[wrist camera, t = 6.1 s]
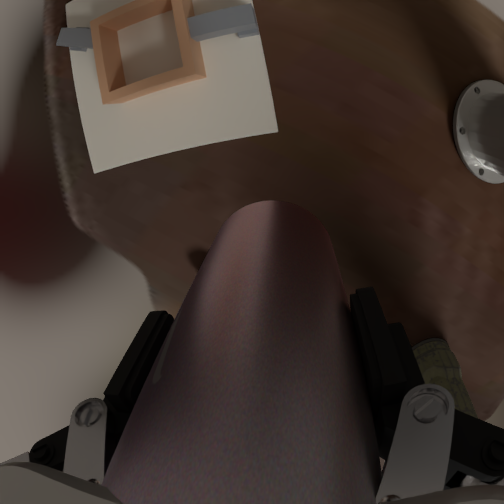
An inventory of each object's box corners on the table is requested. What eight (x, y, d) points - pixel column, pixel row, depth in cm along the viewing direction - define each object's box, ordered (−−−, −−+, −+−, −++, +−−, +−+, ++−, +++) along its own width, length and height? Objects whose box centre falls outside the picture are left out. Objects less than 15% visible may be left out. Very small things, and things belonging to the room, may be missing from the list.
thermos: (442, 321, 38) (523, 542, 7) (453, 364, 42) (510, 544, 11) (390, 349, 41) (436, 580, 10) (409, 387, 45) (445, 572, 14)
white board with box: (237, -59, 20) (230, -79, 16) (278, 131, 30) (276, 135, 26) (69, 5, 24) (46, -1, 19) (97, 171, 34) (75, 182, 29)
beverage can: (302, 312, 18) (297, 597, 4) (203, 277, 17) (90, 557, 4) (351, 223, 15) (460, 576, 2) (238, 178, 15) (37, 556, 1)
